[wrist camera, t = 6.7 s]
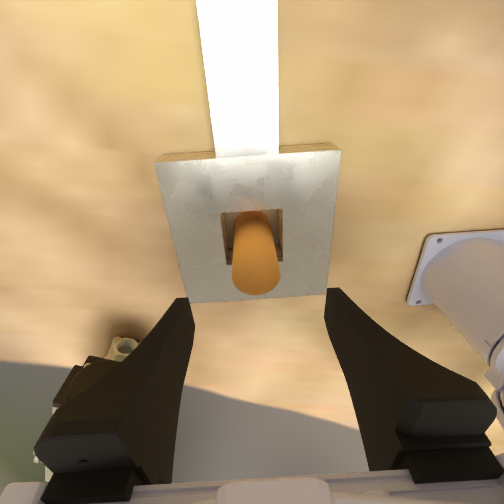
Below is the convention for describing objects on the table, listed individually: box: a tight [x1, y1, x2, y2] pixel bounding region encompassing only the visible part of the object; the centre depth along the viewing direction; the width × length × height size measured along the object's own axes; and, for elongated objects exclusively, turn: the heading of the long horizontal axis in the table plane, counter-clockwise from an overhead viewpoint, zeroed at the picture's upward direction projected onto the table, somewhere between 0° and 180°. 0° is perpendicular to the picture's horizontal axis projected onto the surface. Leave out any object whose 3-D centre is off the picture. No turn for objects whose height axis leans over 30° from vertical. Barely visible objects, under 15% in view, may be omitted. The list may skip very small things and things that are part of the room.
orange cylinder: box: [232, 211, 280, 295], centre depth 20 cm, size 3×3×7 cm
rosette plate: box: [154, 0, 341, 303], centre depth 19 cm, size 12×20×2 cm, turn 4°
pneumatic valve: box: [33, 336, 141, 484], centre depth 25 cm, size 6×12×12 cm, turn 159°
